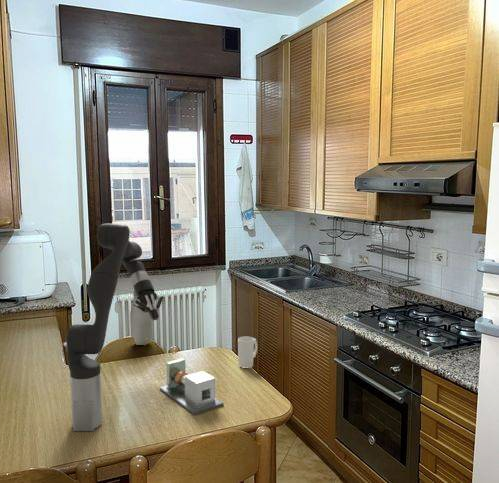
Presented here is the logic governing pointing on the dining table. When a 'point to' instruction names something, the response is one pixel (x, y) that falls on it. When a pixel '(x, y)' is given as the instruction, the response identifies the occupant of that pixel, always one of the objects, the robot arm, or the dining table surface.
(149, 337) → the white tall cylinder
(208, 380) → the bearing block
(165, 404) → the dining table surface
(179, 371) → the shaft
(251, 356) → the mug
